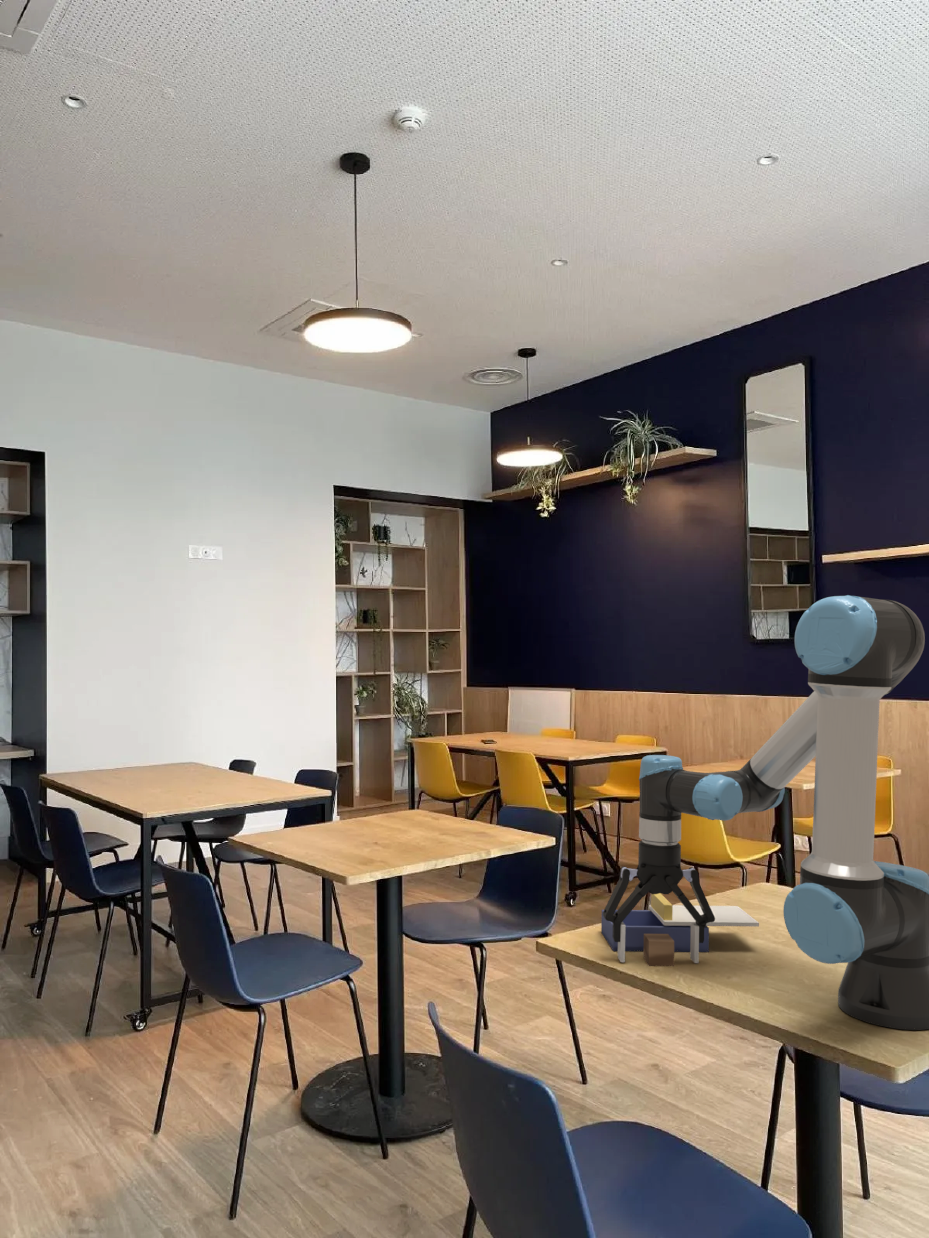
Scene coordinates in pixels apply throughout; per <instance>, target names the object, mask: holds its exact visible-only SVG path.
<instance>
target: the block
mask: <svg viewBox="0 0 929 1238" xmlns="http://www.w3.org/2000/svg"><path fill="white" fill-rule="evenodd" d="M642 956H643V957H642V958H643V959H644V961H645V963H646V964H647V966H648V967H675V952H674V940H673V939H672V938H671V937H670V936H669V934H644V950H643V955H642Z"/></svg>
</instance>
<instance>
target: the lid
mask: <svg viewBox="0 0 929 1238" xmlns="http://www.w3.org/2000/svg"><path fill="white" fill-rule="evenodd" d="M650 894H651V893H650ZM650 900H651V901H650V902H651V904H649V905H648V910H651V911H652V912H653V914H654V915H655V916H656V917H657V918H658V919H659V920H660V921H661V922H662V924H663V925H667V926H691V922H695V923H696V921H695V919H694V918H693V917H692V916H691V914H690V913H689V912H688V910H687V909H686V908H685V907H684V905H683V904H682V905H679V904H678V905H677V904H676V905H675V904H672V903H671V902H670V901H669V900H668V899H667V898H666V897H665V896H664V894H662V893H659V894H651V899H650ZM692 905H693V904H692ZM693 906H694V907H695V909H696V910H697V911H698V913H699V914H700V915H703V911H702V909H701V907H700V905H693ZM709 906H710V908H711V910H712V912H713V915H714V917H715V921H714V922H709V923H706V926H707V927H755V928H756V927H759V926H760V922H759V921H757V920H756V919H755V918H754V917H752V916H751V915H750V914H749V913H747V912H746V911H745V910H743V909H742V908H741V907H739V906H738V905H709Z"/></svg>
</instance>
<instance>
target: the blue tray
mask: <svg viewBox="0 0 929 1238" xmlns="http://www.w3.org/2000/svg"><path fill="white" fill-rule="evenodd" d="M617 910H618V909H616V911H617ZM603 911H604V909H601V922H600V923H601V928H600V932H601V934H602V936H603V937H604V939H605V940H606V942H607V944H608V946H609V947H610V948H611V950H612V951H613V952H618V942H615V941H614V940H613V937H612V934H613V933H612V932H613V923H612V922H611V921H607V920H606V919H605V918H604V916H603ZM616 911H615V913H616ZM615 913H614V914H615ZM623 923H624V924H625V952H643V950H644V934H669V936H670V937H671V938H672V939H673V940H674V953H690V939H691V926H667V925H663V924H662V922H661V921H660V920H659V919H658V918H657V917H656V916H655V915H654V914H653V912H652V911H651V910H650V909H632V911H631V912H630V913H629V914H628V915H627V917H626V918H625V919H624V920H623ZM709 939H710V926H705V927H704V942H703V943H699V953H709V951H710V950H709V948H710V946H709V945H710V943H709V942H710V940H709Z"/></svg>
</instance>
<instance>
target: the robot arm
mask: <svg viewBox="0 0 929 1238" xmlns="http://www.w3.org/2000/svg"><path fill="white" fill-rule="evenodd" d="M925 636H926V634H925V630H924V627H923V623H922V622H921V620H920V619H919V617H918V616H917V614H916V613H915V612H914V611H913V610H911V608H909V607H908V606H906V605H905V604H902V603H900V602H898V601H896V600H891V599H881V598H880V599H878V598H871V597H864V596H856V595H849V594H847V595H834V596H828V597H824V598H822V599H819V600H817V601H816V602H814V603H813V604H812V605H810V606H809V608H807V610H805V611H804V612H803V614H802V615H801V617H800V619H799V620H798V622H797V625H796V627H795V632H794V648H795V652H796V654H797V657H798V658H799V659H800V660H801V662H802V664H803V665H804V666H805V667H806V668H807V669H808V672H807V673H808V674H807V685H808V686H809V687H810V688H811V689H812V690H813V691H812V693H811V694H810V695H809V696H808V697H807V698H806V699H805V700H804V702H802V704H801V705H800V706H798V708H797V709H796V710H795V711H793V713H792V714H791V715H790V716H789V717H788V718H787V719H786V721H785V722H784V723H783V724H782V725H781V726H780V727H779V728H778V729H777V730H776V731H775V732H774V733H773V734H772V736H770V738H768V740H766V742H765V743H764V744H763V745H762V746H761V747H760V748H759V749H758V750H757V751H756V752H755V754H754V755H752V757H750V759H748V761H747V762H746V763H745V764H744V765H743V766H742V767H740V769H738V770H728V771H715V772H699V771H693V770H691V771H690V770H685V769H684V767H683V761H682V759H681V758H680V757H679V756H674V755H664V754H652V755H651V754H649V755H646V756H643V757H642V759H641V761H640V769H639V778H638V781H639V815H638V816H639V819H638V821H639V823H638V838H639V839H640V841H639V842H638V864H637V868H627V867H626V866H625V865H624V866H621V868H620V871H619V878H618V881H617V883H616V885H615V886H614V889H613V891H612V893H611V894H610V897H609V899H608V901H607V903H606V905H605V907H604V909H603V910H604V911H603V916H604V918H605V919H606V920H607V921H611V922H612V923H613V932H612V933H613V934H612V937H613V940H614V941H615V942H618V951H617V958H618V961H619V962H620V963H625V962H626V951H625V924H624V923H623V920H624V919H625V918H626V917H627V915H628V914H629V913H630V912H631V911H632V910H634V908H635V907H636V906H637V904H638V903H639V902H640V901H641V900H642V899H643V898H644V897H646V895H647V894H648V893H649V894H659V893H661V894H662V895H670V894H671V893H672V892H673V894H674V895H675V896H676V897H677V899H678V900H679V901H680V903H681V904H682V905H684V907H685V908H686V909H687V910H688V912H689V913H690V914H691V916H692V917H693V918H694V919H695V921H696V923H695V922H691V939H690V952H689V955H690V956H689V958H690V960H691V961H692V962H693V963H694V964H699V963H700V962H699V958H700V955H699V954H700V952H699V943H703V942H704V927H705V926H706V923H709V922H714V921H715V917H714V915H713V912H712V910H711V908H710V906H711V905H710V904H709V902H708V901H709V900H707V897H706V895H705V892H704V891H703V888H702V887H701V884H700V879H699V872H698V871H697V870H696V868H694V867H689V868H687V869H682V867H681V863H682V861H681V860H682V859H681V856H682V846H681V844H680V843H679V842H681V841H682V814H686V815H691V816H696V817H699V818H705V819H708V820H710V821H711V820H712V821H714V820H715V821H716V820H717V821H731V820H732V819H734V817H735V816H736V815H738V814H743V813H744V814H745V813H753V812H755V813H758V812H759V813H760V812H765V811H768V810H770V809H774V808H777V807H778V806H779V805H780V804H781V803H782V801H783V799H784V795H785V792H786V791H785V790H786V789H785V787H786V786H787V785H789V783H790V782H792V780H793V779H794V778H795V777H797V776H798V774H800V772H802V771H803V770H804V768H806V767H807V766H808V764H809V763H811V761H812V760H813V759H815V760H814V761H815V762H814V763H815V764H814V765H815V767H814V787H813V788H814V790H813V814H812V820H813V821H812V837H811V838H812V839H811V841H812V842H811V844H812V845H811V853H809V855H807V857H805V858H804V859H803V860H802V861H801V862H800V872H799V874H800V875H799V884H797V885H795V886H794V887H793V888H792V890H791V891H789V893H788V894H787V895H786V897H785V899H784V902H783V908H782V909H783V919H784V924H785V928H786V930H787V932H788V934H789V936H790V938H791V939H792V940H793V941H794V942H795V943H796V945H797V947H798V948H799V950H800V951H801V952H802V953H804V955H806V956H808V957H809V958H811V959H813V960H815V961H817V962H819V963H823V964H829V965H831V964H832V965H833V964H835V965H836V964H841V963H842V964H843V963H846V964H847V965H846V968H845V970H844V973H843V975H842V978H841V981H840V984H839V988H838V990H837V992H838V993H837V994H838V995H837V1003H838V1007H839V1008H840V1010H842V1012H844V1013H845V1014H847V1015H848V1016H850V1017H853V1018H855V1019H857V1020H859V1021H863V1022H865V1023H868V1024H872V1025H876V1026H881V1027H883V1028H884V1027H886V1028H891V1029H897V1030H906V1031H907V1030H909V1031H917V1030H918V1031H920V1030H929V874H928V873H927V872H925V871H923V870H921V869H919V868H915V867H912V866H911V867H910V866H908V865H907V866H906V865H902V864H895V863H891V862H885V861H876V860H874V850H875V848H874V847H875V827H876V799H877V797H876V796H877V795H876V794H877V774H878V773H877V771H878V748H879V724H880V721H879V719H880V702H881V701H880V700H881V699H882V698H883V697H884V696H885V695H887V694H889V693H891V692H892V691H893V690H894V688H896V686H897V685H899V684H900V683H901V682H902V681H903V680H904V678H905V677H906V676H907V675H909V673H910V672H911V671H912V670H913V669H914V667H915V666H916V665H917V663H918V662H919V660H920V659H921V656H922V654H923V653H924V652H923V651H924V649H925V644H926V642H925V641H926V639H925ZM634 877H636V878H637V879H638V881H639V882H638V884H637V885H635V887H634V890H632V892H631V893H630V894H629V896H628V897H627V898H626V899H625V901H624V902H623V903H622V904H621V905H620V906H619V904H620V903H621V901H622V898H623V896H624V894H625V892H626V890H627V889H628V885H629V883H630V882H631V881H633V879H634ZM683 878H685V881H687V882H689V884H690V887H691V890H692V891H693V894H694V896H695V898H696V900H697V902H698V904H699V905H698V906H700V907H701V909H702V911H703V915H700V914H699V913H698V911H697V910H696V909H695V907H694V906H695V905H694V906H693V903H692V902H691V901H690V899H688V898H687V896H686V895H685V893H684V892H683V890H682V889H681V888H680V887H679V886H678V884H679V883H680V882H681V881H682V879H683ZM618 907H619V908H618ZM616 910H617V911H616ZM615 911H616V913H615ZM614 913H615V914H614Z"/></svg>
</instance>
